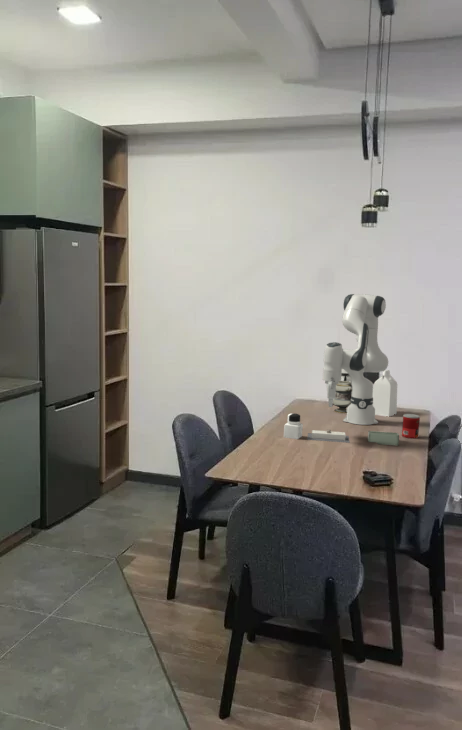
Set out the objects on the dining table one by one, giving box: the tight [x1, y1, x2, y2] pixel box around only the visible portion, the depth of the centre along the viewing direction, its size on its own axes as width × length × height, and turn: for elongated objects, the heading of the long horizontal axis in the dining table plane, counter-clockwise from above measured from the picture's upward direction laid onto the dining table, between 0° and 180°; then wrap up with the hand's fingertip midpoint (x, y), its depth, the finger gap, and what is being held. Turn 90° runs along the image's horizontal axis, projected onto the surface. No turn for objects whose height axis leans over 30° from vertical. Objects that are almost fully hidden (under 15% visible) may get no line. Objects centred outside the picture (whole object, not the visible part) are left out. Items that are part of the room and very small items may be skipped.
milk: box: [372, 369, 398, 418], centre depth 375 cm, size 12×12×26 cm
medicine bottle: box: [283, 413, 304, 440], centre depth 307 cm, size 7×7×12 cm
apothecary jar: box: [333, 381, 352, 414], centre depth 378 cm, size 12×12×18 cm
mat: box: [307, 432, 351, 444], centre depth 309 cm, size 14×20×1 cm
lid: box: [311, 429, 347, 440], centre depth 308 cm, size 6×16×4 cm, turn 82°
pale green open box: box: [367, 430, 400, 446], centre depth 305 cm, size 5×14×5 cm, turn 82°
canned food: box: [401, 413, 421, 439], centre depth 320 cm, size 8×8×11 cm
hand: (330, 404), depth 307 cm, fingers open, 8 cm apart
